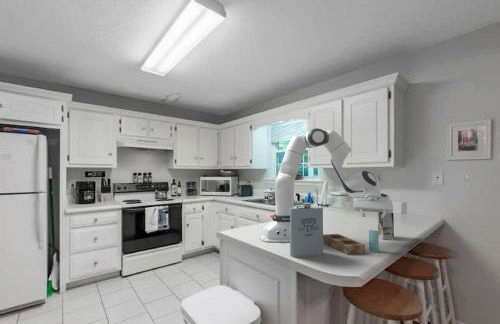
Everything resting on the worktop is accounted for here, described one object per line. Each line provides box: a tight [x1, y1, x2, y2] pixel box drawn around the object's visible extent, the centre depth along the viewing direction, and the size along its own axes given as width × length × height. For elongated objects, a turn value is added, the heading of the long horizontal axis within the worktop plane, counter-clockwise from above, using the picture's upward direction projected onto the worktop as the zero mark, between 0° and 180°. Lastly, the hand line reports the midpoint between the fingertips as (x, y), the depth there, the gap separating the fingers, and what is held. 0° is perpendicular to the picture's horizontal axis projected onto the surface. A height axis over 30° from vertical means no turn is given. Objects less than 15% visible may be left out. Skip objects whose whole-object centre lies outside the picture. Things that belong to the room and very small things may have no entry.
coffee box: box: [377, 212, 395, 241], centre depth 144 cm, size 9×6×16 cm
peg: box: [368, 229, 380, 253], centre depth 119 cm, size 4×4×10 cm
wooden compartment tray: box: [323, 233, 366, 255], centre depth 125 cm, size 10×22×4 cm, turn 13°
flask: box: [289, 202, 324, 258], centre depth 113 cm, size 17×5×25 cm, turn 107°
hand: (373, 217), depth 130 cm, fingers open, 8 cm apart
